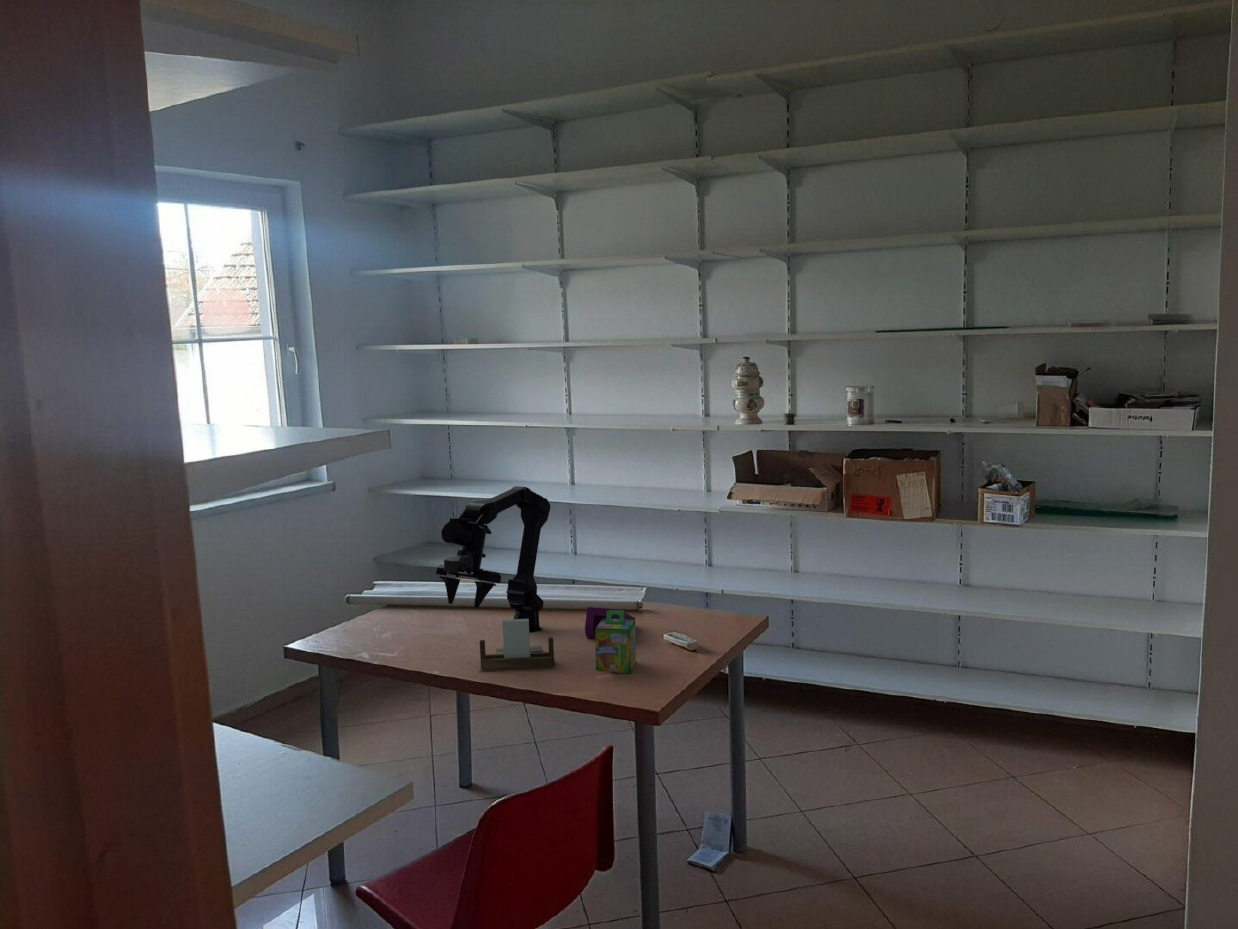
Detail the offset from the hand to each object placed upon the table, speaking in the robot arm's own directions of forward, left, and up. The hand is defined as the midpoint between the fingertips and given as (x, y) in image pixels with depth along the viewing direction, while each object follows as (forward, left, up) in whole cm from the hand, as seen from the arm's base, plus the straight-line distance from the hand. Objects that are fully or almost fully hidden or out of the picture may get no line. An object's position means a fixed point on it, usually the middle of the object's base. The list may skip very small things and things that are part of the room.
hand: (463, 605), depth 247 cm
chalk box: (-28, +32, -14) cm, 45 cm away
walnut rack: (-7, +18, -14) cm, 24 cm away
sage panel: (-7, +18, -13) cm, 23 cm away
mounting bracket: (-42, +7, -15) cm, 45 cm away
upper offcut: (-11, +11, -13) cm, 20 cm away
